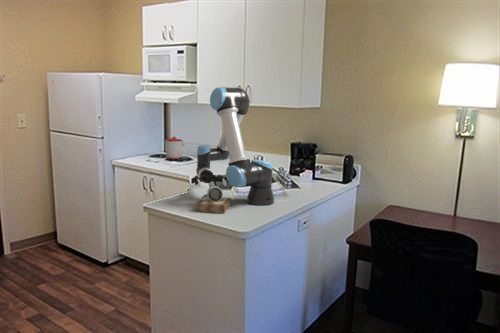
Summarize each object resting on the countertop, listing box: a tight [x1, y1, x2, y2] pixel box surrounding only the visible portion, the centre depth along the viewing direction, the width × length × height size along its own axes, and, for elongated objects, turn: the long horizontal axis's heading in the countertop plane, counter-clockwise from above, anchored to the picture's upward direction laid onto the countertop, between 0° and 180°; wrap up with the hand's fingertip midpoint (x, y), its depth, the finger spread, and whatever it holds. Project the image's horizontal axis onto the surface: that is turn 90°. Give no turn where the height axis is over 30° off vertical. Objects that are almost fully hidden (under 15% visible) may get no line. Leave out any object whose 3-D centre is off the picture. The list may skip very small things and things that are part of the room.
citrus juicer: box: [164, 136, 186, 160], centre depth 358 cm, size 16×17×20 cm
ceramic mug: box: [200, 184, 224, 202], centre depth 211 cm, size 11×8×8 cm
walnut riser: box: [196, 197, 232, 214], centre depth 212 cm, size 14×15×4 cm
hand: (212, 183), depth 214 cm, fingers open, 13 cm apart
